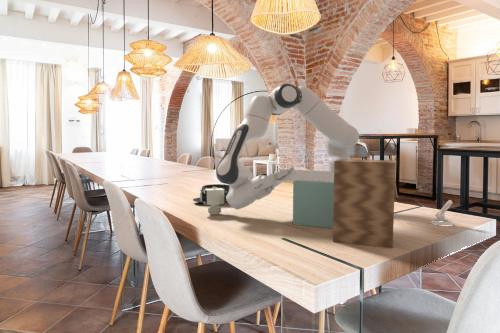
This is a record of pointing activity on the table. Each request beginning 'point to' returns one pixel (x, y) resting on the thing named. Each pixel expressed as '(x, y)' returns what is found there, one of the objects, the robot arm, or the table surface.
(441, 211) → the hook
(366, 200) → the stand
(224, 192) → the pneumatic valve
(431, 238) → the table surface
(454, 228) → the table surface
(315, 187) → the mint green rectangular block
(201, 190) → the casserole
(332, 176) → the rail
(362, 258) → the table surface
